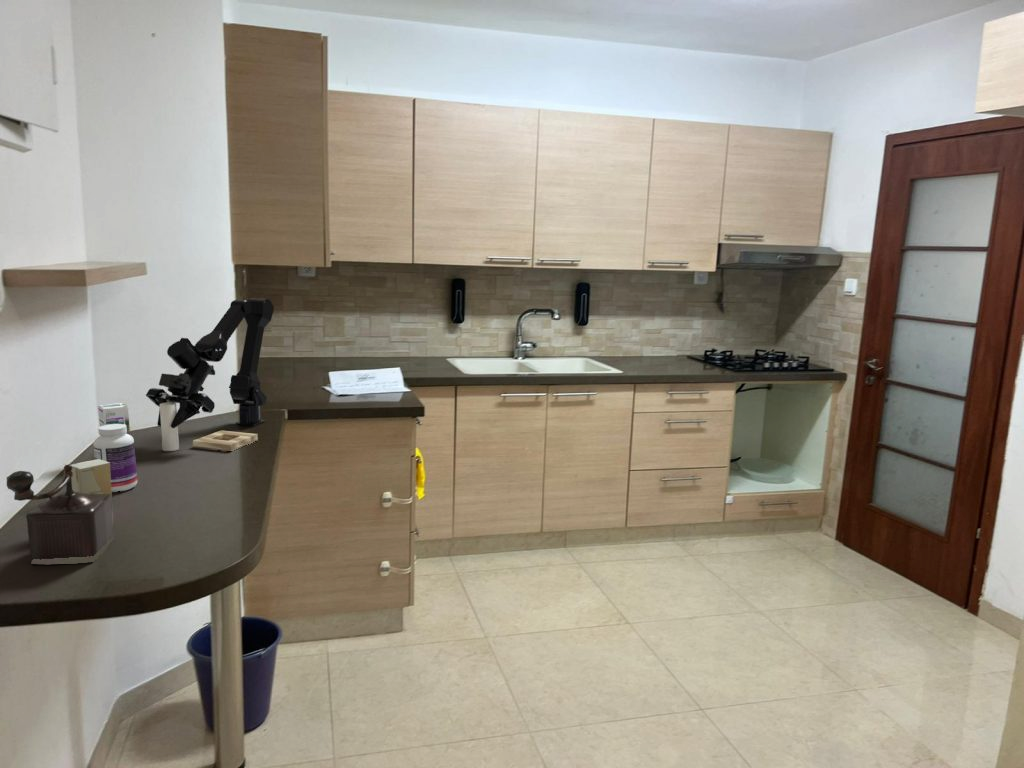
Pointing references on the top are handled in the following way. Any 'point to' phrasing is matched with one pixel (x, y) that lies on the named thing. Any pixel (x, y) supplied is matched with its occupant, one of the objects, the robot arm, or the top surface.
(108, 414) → the syrup box
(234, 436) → the socket block
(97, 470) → the skincare box
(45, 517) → the manual coffee grinder
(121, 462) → the pill bottle
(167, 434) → the peg
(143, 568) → the top surface
